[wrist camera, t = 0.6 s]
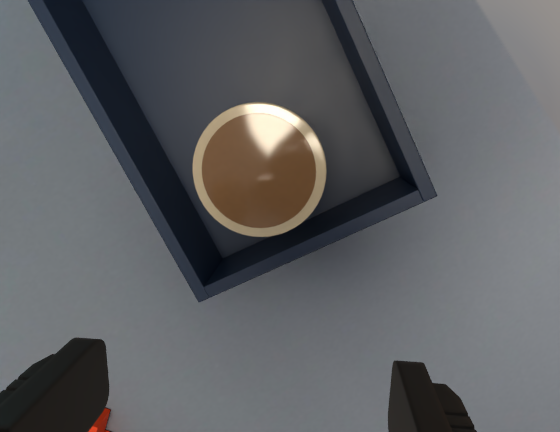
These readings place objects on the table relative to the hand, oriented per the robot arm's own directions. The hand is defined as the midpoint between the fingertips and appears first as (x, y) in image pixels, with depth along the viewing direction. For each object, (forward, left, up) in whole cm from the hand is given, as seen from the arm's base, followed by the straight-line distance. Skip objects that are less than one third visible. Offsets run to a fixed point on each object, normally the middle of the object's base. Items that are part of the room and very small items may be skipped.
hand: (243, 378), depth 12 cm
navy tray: (-9, -6, -20) cm, 23 cm away
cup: (-4, -2, -19) cm, 20 cm away
